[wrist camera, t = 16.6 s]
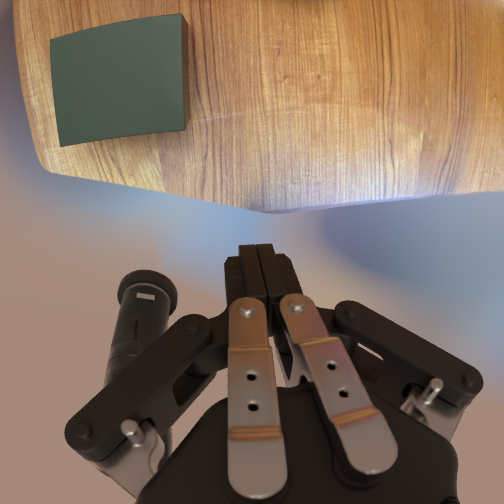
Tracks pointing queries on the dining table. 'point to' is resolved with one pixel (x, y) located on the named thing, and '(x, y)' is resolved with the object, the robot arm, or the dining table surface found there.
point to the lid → (119, 80)
